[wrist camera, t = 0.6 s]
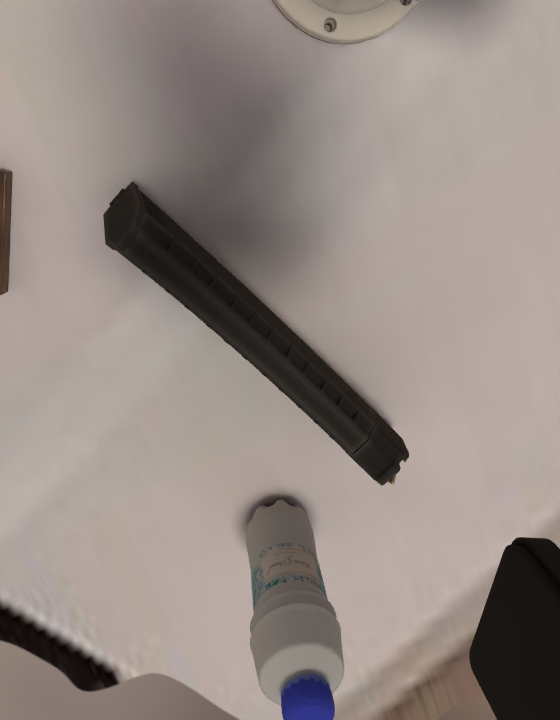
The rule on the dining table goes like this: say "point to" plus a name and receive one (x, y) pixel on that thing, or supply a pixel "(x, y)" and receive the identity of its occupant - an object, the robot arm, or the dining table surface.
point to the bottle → (292, 615)
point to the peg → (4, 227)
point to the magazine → (251, 330)
